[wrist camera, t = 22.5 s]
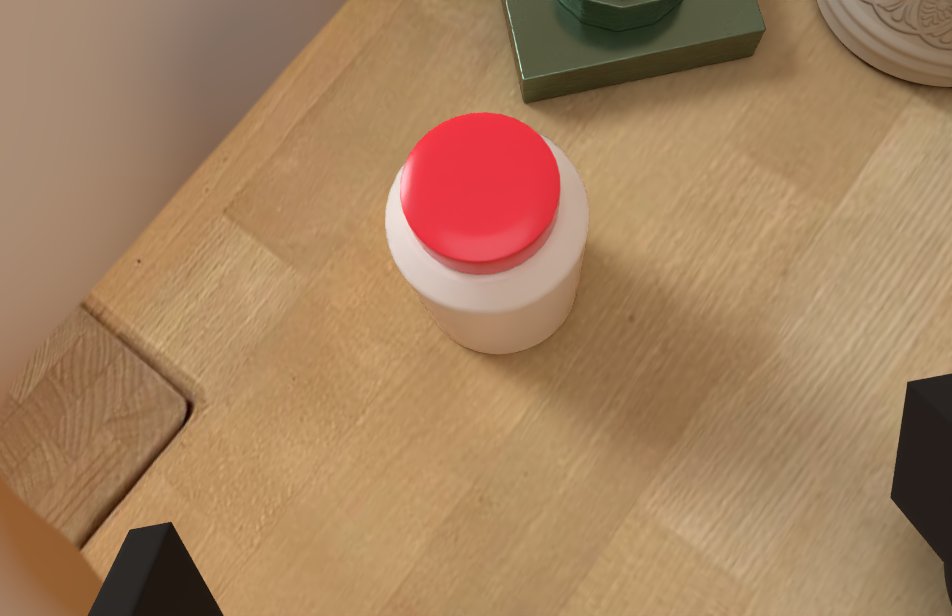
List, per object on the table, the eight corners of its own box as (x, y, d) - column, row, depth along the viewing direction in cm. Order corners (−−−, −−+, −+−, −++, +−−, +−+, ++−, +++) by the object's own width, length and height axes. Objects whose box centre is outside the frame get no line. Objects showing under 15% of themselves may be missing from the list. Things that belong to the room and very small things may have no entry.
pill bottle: (390, 271, 35) (322, 178, 24) (507, 174, 35) (492, 42, 25) (490, 387, 33) (464, 343, 22) (612, 283, 33) (644, 191, 23)
